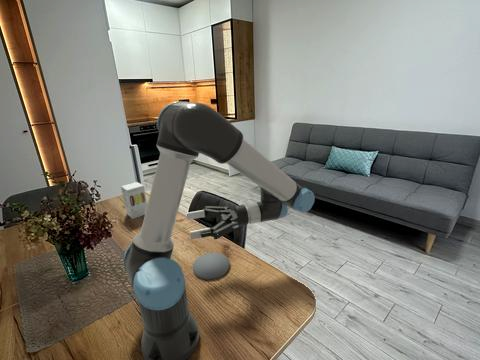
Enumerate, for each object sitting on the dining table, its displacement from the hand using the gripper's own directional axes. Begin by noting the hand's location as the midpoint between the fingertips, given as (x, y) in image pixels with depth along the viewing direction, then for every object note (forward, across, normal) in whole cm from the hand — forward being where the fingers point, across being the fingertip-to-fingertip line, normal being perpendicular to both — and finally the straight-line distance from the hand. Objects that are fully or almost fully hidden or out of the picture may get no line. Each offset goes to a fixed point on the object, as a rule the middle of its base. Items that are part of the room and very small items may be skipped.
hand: (188, 225), depth 90 cm
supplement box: (+26, +58, -20) cm, 66 cm away
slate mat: (-6, 0, -20) cm, 21 cm away
